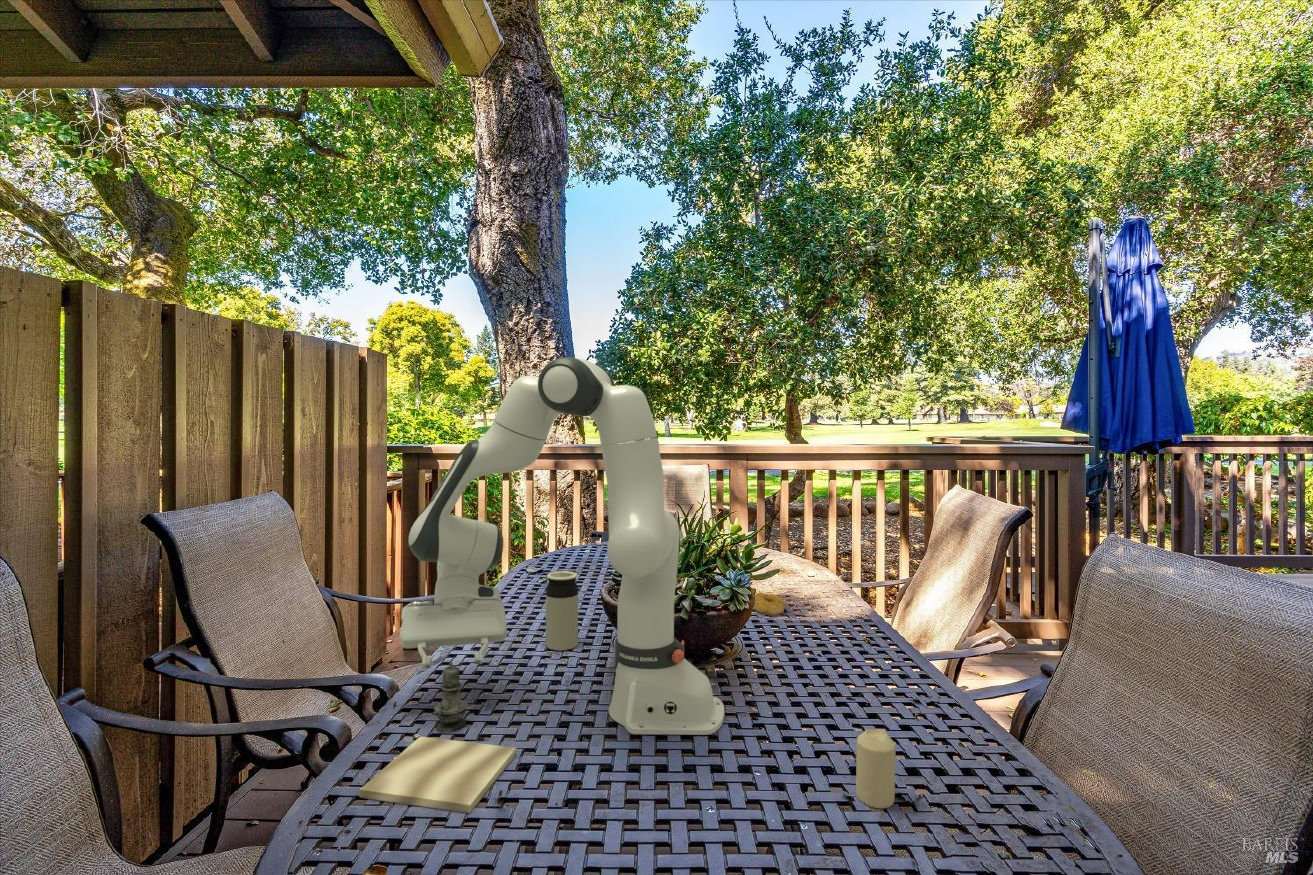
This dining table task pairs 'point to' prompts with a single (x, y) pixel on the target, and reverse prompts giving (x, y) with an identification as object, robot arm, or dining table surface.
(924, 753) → the dining table surface
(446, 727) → the weathered chess pawn
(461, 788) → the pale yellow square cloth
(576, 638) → the travel mug
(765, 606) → the bagel
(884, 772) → the candle
